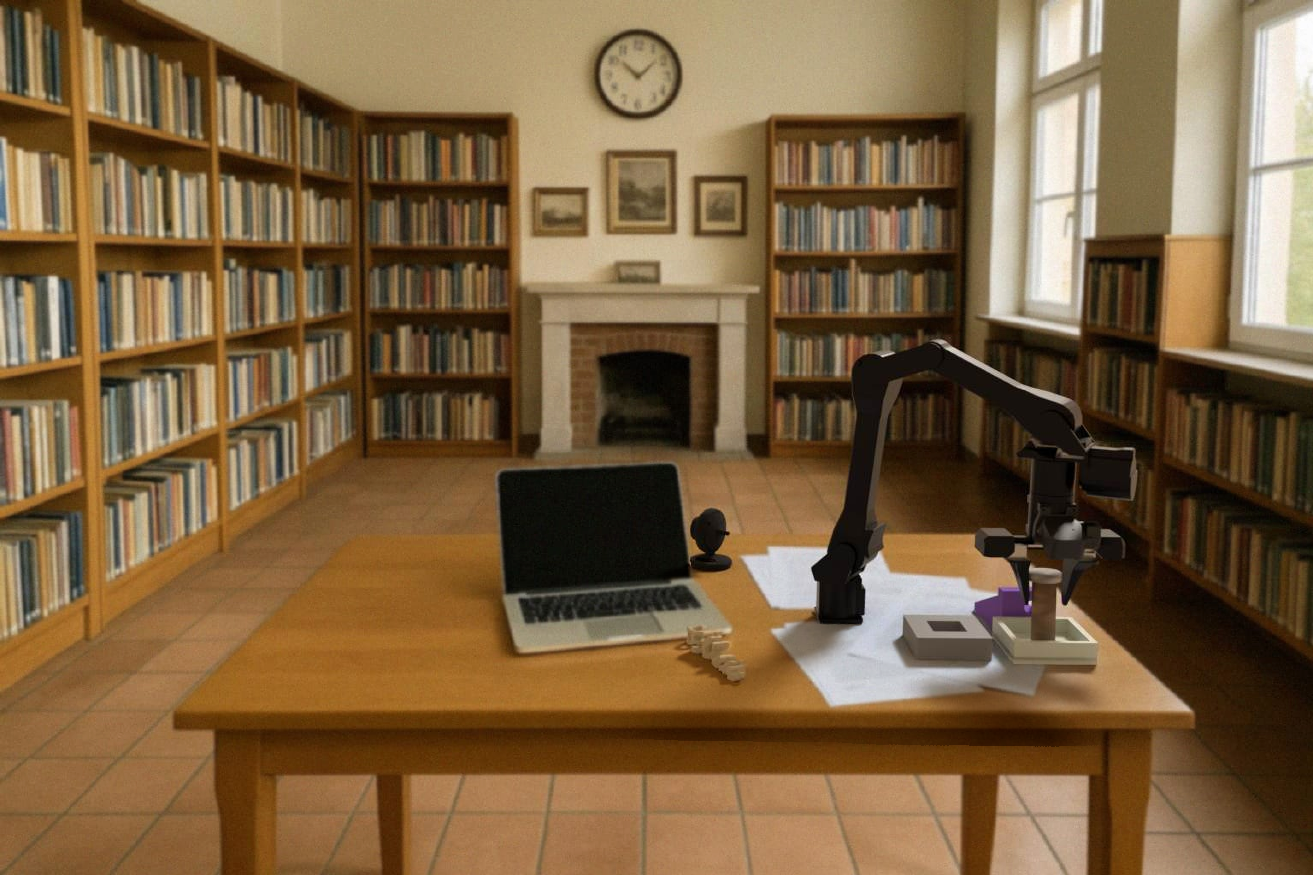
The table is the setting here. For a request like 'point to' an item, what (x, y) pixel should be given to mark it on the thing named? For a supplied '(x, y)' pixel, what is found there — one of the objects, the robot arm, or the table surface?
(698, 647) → the decorative script
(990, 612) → the bracket
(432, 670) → the table surface
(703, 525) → the webcam
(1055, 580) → the peg
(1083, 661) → the tray
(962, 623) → the holder
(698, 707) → the table surface
